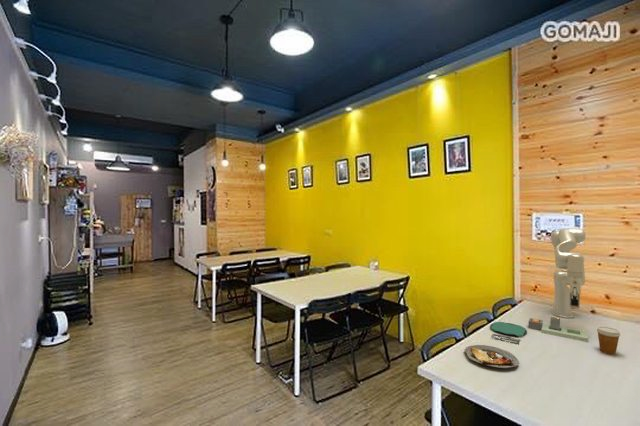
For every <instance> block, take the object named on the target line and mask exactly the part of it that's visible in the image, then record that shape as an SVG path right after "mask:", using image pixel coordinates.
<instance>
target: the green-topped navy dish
mask: <svg viewBox="0 0 640 426" xmlns="http://www.w3.org/2000/svg"><path fill="white" fill-rule="evenodd" d="M490 330H491V331H493V332H496V333H500V334H496V333H492V335H491V338H494V337H495V338H494V339H495V341H498V340H501V341H502V342H505V341H506V343H509V342H510V343H509V344H513V343H514V344H515V345H517V344H518V345H520V341H521V340H520V339H519V338H522V337H523V336H524V335H526V334H527V333H528V330H527V329H526V328H525V327H523V326H522V325H519V324H514V323H510V322H505V321H495V322H493V323H491V324H490ZM502 334H503V335H502ZM505 335H506V336H505ZM507 335H508V336H507ZM496 336H498V337H496ZM511 336H517V337H518V338H515V337H514V338H513V337H511ZM500 337H501V338H500ZM498 338H500V339H498ZM494 339H493V340H494ZM501 341H500V342H501Z"/></svg>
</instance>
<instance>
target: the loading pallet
mask: <svg viewBox="0 0 640 426" xmlns="http://www.w3.org/2000/svg"><path fill="white" fill-rule="evenodd" d="M532 319H534V318H532V317H530V318H529V319H528V329H531V330H535V331H540V332H541V333H542V334H547V335H550V336H551V335H552V336H556V337H560V338H561V337H562V338H566V339H572V340H576V341H580V342H584V343H585V342H586V343H588V342H589V333H588V330H585V329H578V328H573V327H569V326H563V325H560V331H558V330H553V329H550V323H548V322H544V320H542V319H538V318H536V319H537V320H539V322H534V321H532Z"/></svg>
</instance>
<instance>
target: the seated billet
mask: <svg viewBox="0 0 640 426" xmlns="http://www.w3.org/2000/svg"><path fill="white" fill-rule="evenodd" d="M549 324H550V329H553V330H558V331H560V326H561V317H553V316H550V322H549Z"/></svg>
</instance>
